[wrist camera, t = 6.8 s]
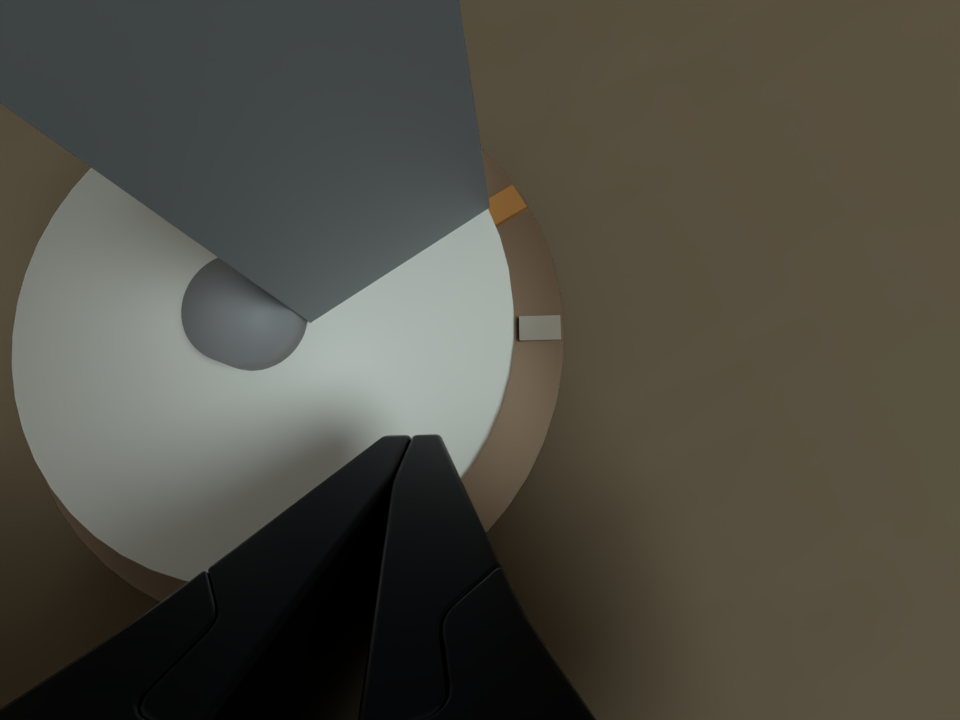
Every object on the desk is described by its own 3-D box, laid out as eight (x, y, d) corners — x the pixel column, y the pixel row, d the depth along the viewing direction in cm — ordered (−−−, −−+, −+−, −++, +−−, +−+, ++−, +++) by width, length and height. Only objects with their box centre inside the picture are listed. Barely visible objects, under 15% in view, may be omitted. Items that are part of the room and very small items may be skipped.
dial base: (288, 738, 16) (261, 768, 14) (-31, 355, 19) (-87, 342, 17) (671, 339, 17) (686, 324, 15) (319, 28, 20) (300, -14, 18)
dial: (458, 629, 14) (197, 1170, 3) (-4, 516, 16) (-1358, 610, 4) (556, 156, 16) (613, -567, 5) (136, 89, 18) (-566, -603, 6)
